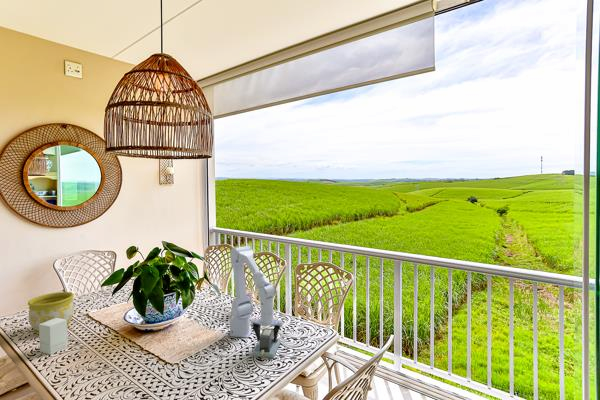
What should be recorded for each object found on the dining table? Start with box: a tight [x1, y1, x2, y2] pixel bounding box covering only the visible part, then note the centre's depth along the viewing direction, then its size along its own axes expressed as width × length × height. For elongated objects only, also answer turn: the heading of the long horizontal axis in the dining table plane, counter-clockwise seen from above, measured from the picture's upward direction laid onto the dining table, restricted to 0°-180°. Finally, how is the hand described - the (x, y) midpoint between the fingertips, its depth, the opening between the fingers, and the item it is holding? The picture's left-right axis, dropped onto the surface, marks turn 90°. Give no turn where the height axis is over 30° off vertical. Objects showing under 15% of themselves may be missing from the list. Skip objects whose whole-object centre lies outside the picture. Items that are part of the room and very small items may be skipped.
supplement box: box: [38, 318, 69, 355], centre depth 132 cm, size 7×7×13 cm
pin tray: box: [251, 337, 281, 360], centre depth 133 cm, size 10×15×4 cm, turn 171°
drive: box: [260, 327, 274, 352], centre depth 133 cm, size 4×8×7 cm, turn 171°
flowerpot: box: [27, 291, 75, 335], centre depth 150 cm, size 18×18×16 cm
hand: (266, 340), depth 133 cm, fingers open, 7 cm apart
